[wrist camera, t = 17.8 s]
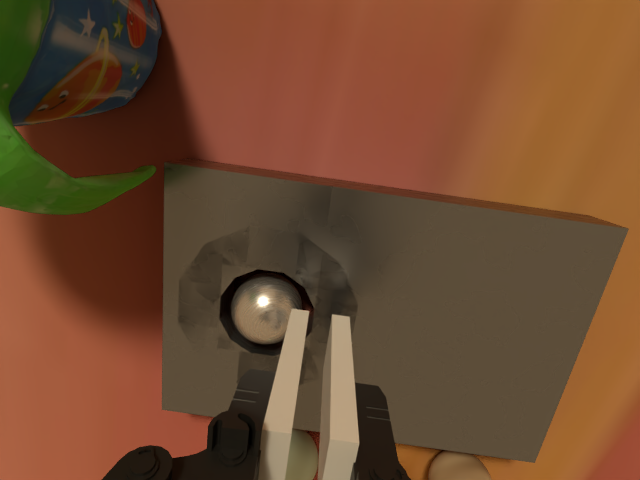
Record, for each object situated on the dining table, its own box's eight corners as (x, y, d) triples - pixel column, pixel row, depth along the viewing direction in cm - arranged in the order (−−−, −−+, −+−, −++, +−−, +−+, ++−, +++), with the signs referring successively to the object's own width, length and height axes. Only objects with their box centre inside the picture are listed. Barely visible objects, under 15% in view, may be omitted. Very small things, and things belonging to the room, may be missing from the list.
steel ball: (299, 263, 19) (316, 296, 16) (288, 318, 21) (301, 359, 18) (233, 258, 18) (237, 293, 15) (226, 317, 20) (228, 360, 16)
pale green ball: (323, 416, 22) (321, 467, 19) (315, 460, 23) (312, 516, 20) (266, 407, 22) (253, 458, 19) (261, 452, 23) (248, 507, 20)
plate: (589, 215, 18) (628, 228, 15) (512, 425, 22) (534, 462, 19) (187, 158, 18) (164, 162, 15) (181, 378, 21) (162, 409, 19)
